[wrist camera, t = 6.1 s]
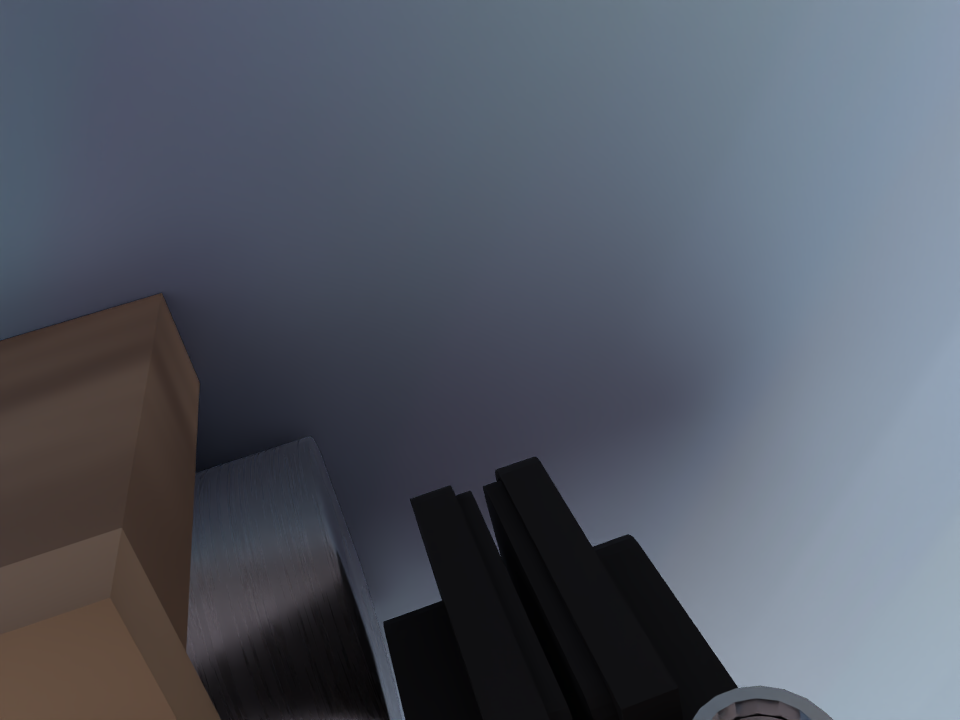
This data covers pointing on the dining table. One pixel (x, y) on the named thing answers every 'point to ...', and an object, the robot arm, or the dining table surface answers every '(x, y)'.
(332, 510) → the axle
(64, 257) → the dining table surface
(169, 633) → the tan square block
